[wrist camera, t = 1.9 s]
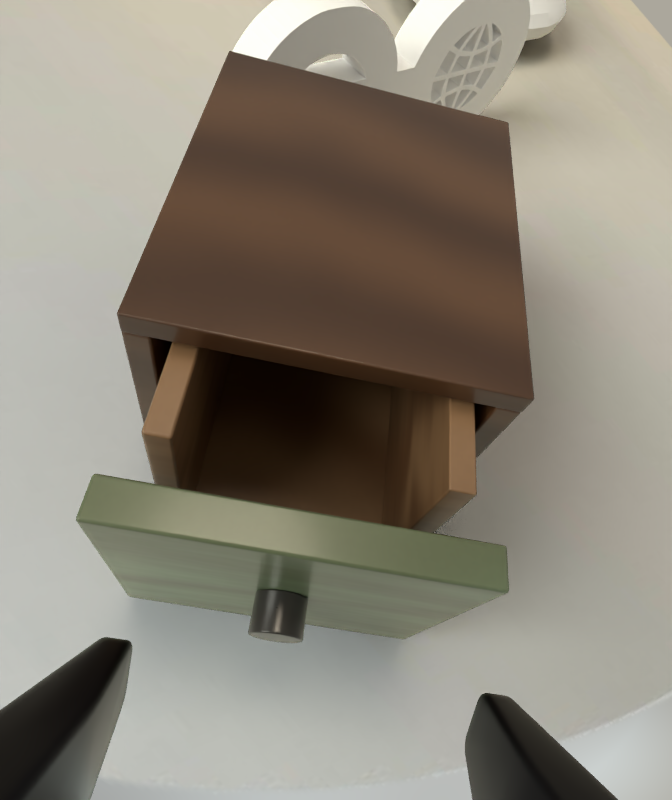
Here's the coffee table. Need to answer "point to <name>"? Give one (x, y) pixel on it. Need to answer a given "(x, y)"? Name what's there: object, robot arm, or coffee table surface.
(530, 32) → the vase
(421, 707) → the coffee table surface
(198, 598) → the drawer
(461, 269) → the cabinet
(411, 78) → the white flat cutout piece
